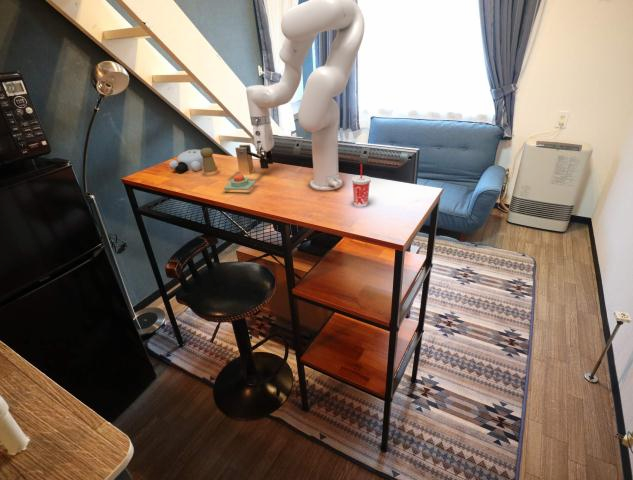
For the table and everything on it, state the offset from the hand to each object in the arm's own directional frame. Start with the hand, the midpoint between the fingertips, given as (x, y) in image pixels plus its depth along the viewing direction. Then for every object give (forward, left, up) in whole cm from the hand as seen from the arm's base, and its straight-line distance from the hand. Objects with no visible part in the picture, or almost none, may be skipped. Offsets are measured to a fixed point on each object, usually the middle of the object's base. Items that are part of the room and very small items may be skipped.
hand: (267, 165), depth 141 cm
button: (-5, +15, -1) cm, 16 cm away
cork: (+22, +18, -5) cm, 28 cm away
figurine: (+33, +23, -5) cm, 40 cm away
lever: (+4, +4, +3) cm, 6 cm away
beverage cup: (-45, -12, -5) cm, 47 cm away
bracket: (+7, +7, -5) cm, 11 cm away
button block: (-5, +15, -5) cm, 16 cm away
